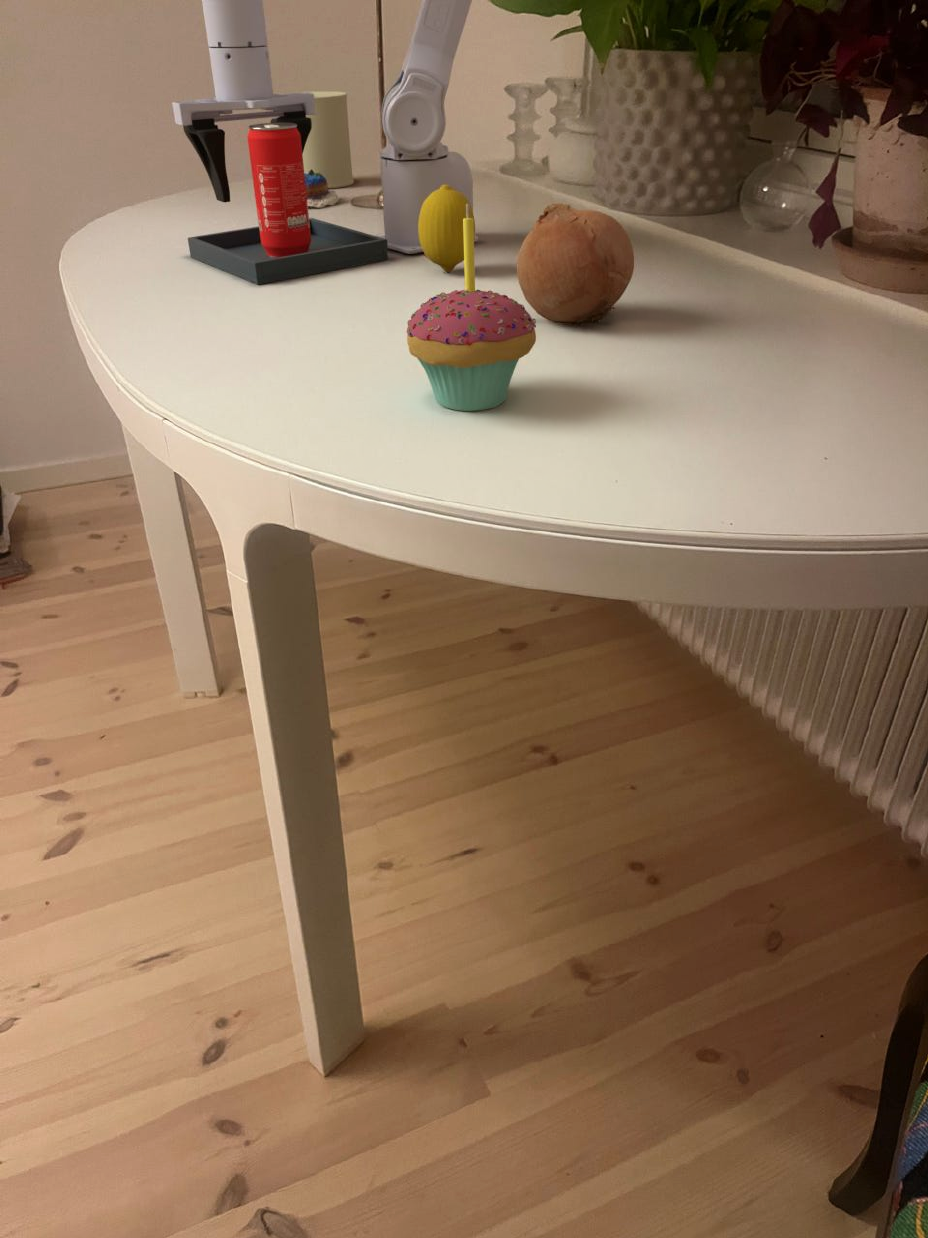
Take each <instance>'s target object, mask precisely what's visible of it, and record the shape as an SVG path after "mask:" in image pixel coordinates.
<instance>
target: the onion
mask: <svg viewBox="0 0 928 1238" xmlns="http://www.w3.org/2000/svg"><path fill="white" fill-rule="evenodd" d="M634 253H635V252H634V247H633V245H632V242H631V239H630V237H629V235H628V233H627V231H626V230H625V229H624V227H623V226H622V225H621V223H619V222H618V220H616V219H615V218H614V217H613V216H611V215H609V214H607V213H604V212H602V211H599V210H591V209H577V208H574V207H571V204H563V203H559V202H557V203H551V204H547V207H546V208H544V209H543V214H540V215H539V216H538V219H536V221H535V223H534V225H533V227H532V229H531V230H530V231H529V233H528V234H527V235H526V236H525V238H524V240H523V242H522V244H521V246H520V249H519V251H518V255H517V258H516V275H517V280H518V281H517V282H518V284H519V287H520V290H521V292H522V294H523V298H524V299H525V301H526V302H527V303H528V305H529V306H530V307H531V308H532V309H533V310H534V311H535V312H536V313H537V314H538V315H540V316H541V317H542V318H544V319H546V320H548V321H554V322H560V323H572V324H575V325H577V326H584V325H585V326H586V325H589V324H592V323H593V324H594V323H596V324H599V322H600V321H603V319H604V317H605V316H607V315H608V314H609V313H610V312H611V311H612V310H614V309H615V307H614V306H615V305H616V303H618V301H619V300H620V299H621V297H622V296H623V295H624V293H625V291H626V290H627V288H628V286H629V284H630V282H631V280H632V277H633V275H634V270H635V254H634Z"/></svg>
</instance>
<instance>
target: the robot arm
mask: <svg viewBox="0 0 928 1238" xmlns="http://www.w3.org/2000/svg"><path fill="white" fill-rule="evenodd" d="M472 2H473V0H421V4H420V7H419V11H418V13H417V19H416V22H415V25H414V28H413V31H412V35H411V39H410V42H409V45H408V49H407V51H406V54H405V57H404V60H403V63H402V67H401V71H400V74H399V75H398V77H397V79H396V81H395V82H394V83H393V84H392V85H391V86H390V88H389V89H388V90H387V92H386V93H385V95H384V96H383V100H382V103H381V120H382V121H381V122H382V129H383V133H384V136H385V137H386V141H388V142H387V144H386V145H385V146H384V147H383V148H381V149H380V150H379V156H380V157H379V163H380V178H381V180H380V181H381V197H382V210H383V227H384V235H380V236H379V235H378V237H380V238H384V239H387V246H388V249H389V250H392V251H393V250H394V251H397V252H401V253H403V254H407V255H413V254H419V253H422V252H423V249H422V247H421V244H420V240H419V234H418V222H419V215H420V210H421V207H422V205H423V203H424V201H425V200H426V198H427V197H428V196H429V195H430V194H431V193H433V192H434V191H436V190H438V189H440V187H441V186H442V185H445V184H446V185H450V187H451V188H452V189H454V190H456V191H458V192H460V193H461V194H463V195H464V196H465V197H466V199H467V200H468V201H469V203H470V205H471V208H472V211H473V212H474V191H473V190H474V183H473V174H472V170H471V168H470V164H469V162H468V161H467V159H466V158H465V157H464V156H463V155H462V154H461V153H460V152H456V151H449V147H448V146H447V145H446V144H443V143H442V142H441V141H442V140H443V137H444V134H445V131H446V125H447V124H446V123H447V119H446V111H445V110H446V109H445V99H446V96H447V91H448V89H449V85H450V80H451V75H452V69H453V65H454V60H455V57H456V54H457V50H458V47H459V44H460V40H461V38H462V34H463V31H464V29H465V24H466V23H467V22H466V21H467V18H468V15H469V12H470V8H471V5H472ZM201 3H202V4H201V5H202V12H203V19H204V25H205V32H206V38H207V39H206V40H207V46H208V52H209V53H208V54H209V60H210V67H211V73H212V81H213V87H214V88H213V89H214V94H215V97H210V98H209V97H208V98H202V99H193V100H184V101H172V102H171V104H172V105H171V106H172V111H173V117H174V123H175V125H179V126H182V127H183V132H184V134H185V136H186V137H187V139H188V141H189V142H190V144H191V145H192V147H193V148H194V151H195V153H197V155H198V157H199V159H200V161H201V163H202V165H203V168H204V169H205V171H206V173H207V176H208V178H209V181H210V183H211V186H212V188H213V192H214V195H215V198H216V201H219V202H221V203H231V191H230V185H229V178H228V172H227V166H226V131H225V130H224V129H221V128H219V126H218V124H216V123H221V122H231V121H244V120H256V119H269V118H271V119H270V120H269V121H270V122H269V123H294V124H297V129H298V131H299V133H300V135H301V145H302V154H303V151H304V147H305V144H306V141H307V139H308V136H309V134H310V131H311V129H312V122H311V118H308V117H306V115H314V114H316V113H315V102H314V94H312V93H299V92H289V93H274V89H273V79H272V72H271V71H272V70H271V62H270V54H269V53H270V52H269V46H268V37H267V29H266V28H267V27H266V18H265V10H264V2H263V0H201ZM244 110H245V111H248V110H251V111H252V110H263V111H257V112H246V113H244V112H243V113H233V111H244ZM478 241H479V238H478V236H476V235H475V240H474V243H476V242H478ZM423 253H424V252H423Z"/></svg>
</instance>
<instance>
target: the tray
mask: <svg viewBox="0 0 928 1238" xmlns="http://www.w3.org/2000/svg"><path fill="white" fill-rule="evenodd" d="M309 223H310V233H311V243H310V246H309V252H306V253H301V254H295V255H290V256H284V257H279V258H273V257H269V256H267V254H266V251H265V249H264V248H263V246H262V244H261V238H260V230H259V225H258V226H252V227H246V228H239V229H234V230H228V231H221V232H215V233H209V234H202V235H201V234H200V235H195V236H190V237H187V244H188V248H189V257H190V258H191V259H194V260H197V261H199V262H202V263H204V264H207V265H209V266H211V267H214V268H216V269H219V270H221V271H222V272H226V273H228V274H231V275H234V276H236V277H238V278H240V279H244V280H246V281H248V282H250V283H253V284H256V285H258V286H259V285H262V284H263V285H264V284H268V283H273V282H279V281H284V280H289V279H294V278H300V277H304V276H305V277H306V276H309V275H314V274H320V273H326V272H330V271H335V270H342V269H345V268H351V267H356V266H361V265H367V264H372V263H377V262H382V261H387V260H389V248H388V246H387V239H384V238H380V237H379V236H378V235H373V234H369V233H367V232H362V231H359V230H356V229H351V228H349V227H345V226H342V225H338V224H334V223H331V222H327V221H325V220H321V219H318V218H314V217H309Z"/></svg>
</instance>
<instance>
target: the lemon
mask: <svg viewBox="0 0 928 1238" xmlns="http://www.w3.org/2000/svg"><path fill="white" fill-rule="evenodd" d="M466 204H469V210H470V218H473V224H474V240H475V236H476V220H475V216H474V210H473V211H472V208H471V205H470V203H469V201H468V200H467V199H466V197H465V196H464V195H463V194H461V193H460V192H458V191H456V190H454V189H452V188H451V187H450V185H446V184H445V185H442V186H441V187H440V189H438V190H436V191H434V192H433V193H431V194H430V195H429V196H428V197H427V198H426V200H425V201H424V203H423V205H422V207H421V210H420V215H419V222H418V234H419V240H420V244H421V247H422V249H423V253H424V255H425V256H426V257H427V259H428V260H429V261H431V262H432V263H433V264H436V265H437V266H439V267H440V268H441V269H442V270H443V271H444V272H445V273H451V272H452V271H453V269H455V267H456V266H458V265H459V264H461V263H463V262H464V234H463V219H464V218H467V216H466Z"/></svg>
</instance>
